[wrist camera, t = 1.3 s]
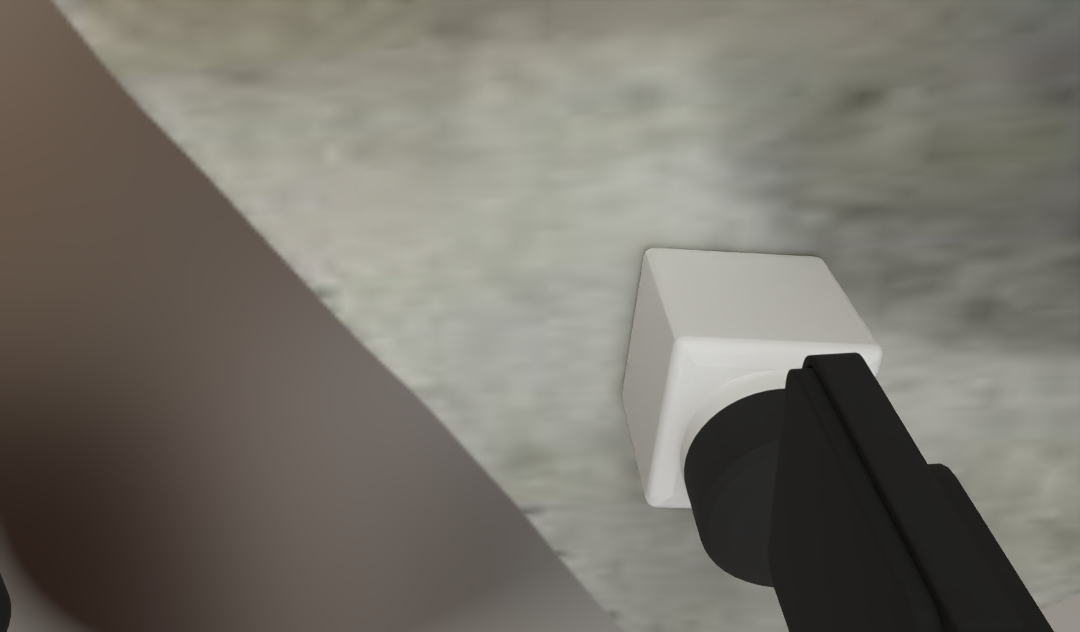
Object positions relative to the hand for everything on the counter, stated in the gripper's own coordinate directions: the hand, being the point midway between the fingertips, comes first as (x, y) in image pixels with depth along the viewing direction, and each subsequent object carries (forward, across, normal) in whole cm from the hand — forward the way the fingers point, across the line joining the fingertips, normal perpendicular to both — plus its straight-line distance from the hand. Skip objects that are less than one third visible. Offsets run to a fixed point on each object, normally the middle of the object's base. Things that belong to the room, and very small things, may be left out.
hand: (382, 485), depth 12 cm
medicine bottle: (+26, -10, +14) cm, 32 cm away
